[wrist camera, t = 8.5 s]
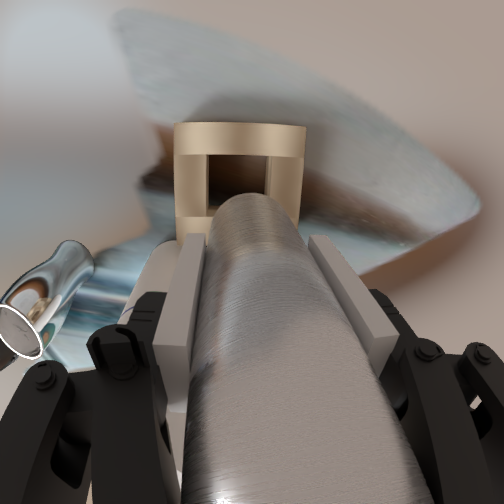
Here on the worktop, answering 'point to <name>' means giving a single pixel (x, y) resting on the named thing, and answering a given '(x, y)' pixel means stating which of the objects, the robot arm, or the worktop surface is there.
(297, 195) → the socket block
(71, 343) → the worktop surface
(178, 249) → the cylindrical container
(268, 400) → the peg
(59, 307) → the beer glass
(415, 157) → the worktop surface
